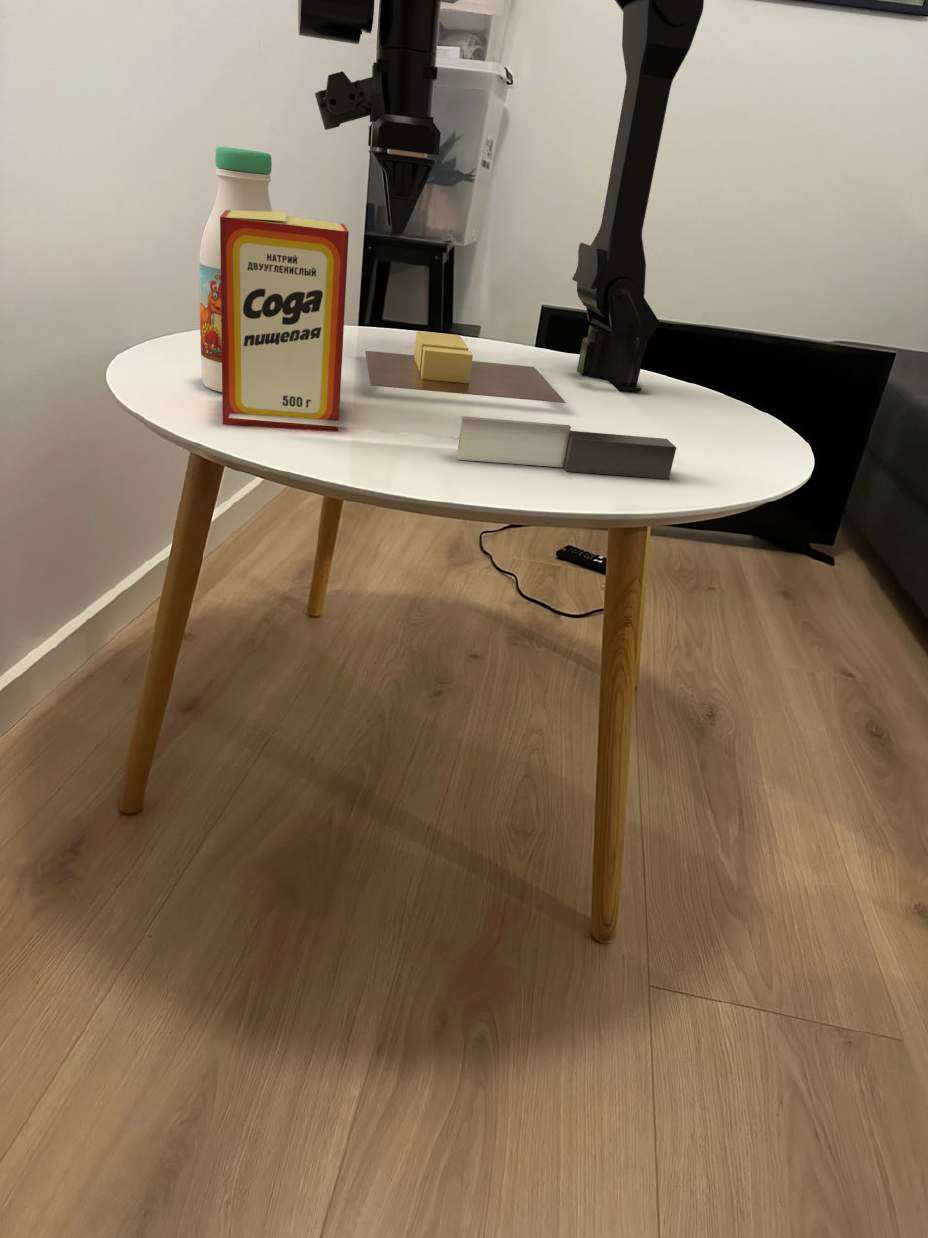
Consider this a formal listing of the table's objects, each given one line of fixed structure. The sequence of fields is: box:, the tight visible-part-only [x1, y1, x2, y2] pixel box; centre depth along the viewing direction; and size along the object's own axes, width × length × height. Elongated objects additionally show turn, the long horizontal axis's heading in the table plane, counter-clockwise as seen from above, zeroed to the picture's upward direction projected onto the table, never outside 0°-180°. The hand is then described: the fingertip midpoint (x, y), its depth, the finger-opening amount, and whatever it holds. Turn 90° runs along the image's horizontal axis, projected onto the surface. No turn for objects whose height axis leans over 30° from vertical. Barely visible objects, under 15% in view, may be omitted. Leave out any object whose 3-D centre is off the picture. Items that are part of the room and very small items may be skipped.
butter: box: [413, 330, 469, 372], centre depth 94 cm, size 5×7×3 cm
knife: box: [456, 415, 677, 480], centre depth 71 cm, size 18×2×4 cm, turn 98°
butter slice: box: [421, 347, 474, 384], centre depth 89 cm, size 5×2×3 cm, turn 98°
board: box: [365, 350, 567, 404], centre depth 93 cm, size 20×16×1 cm
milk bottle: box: [198, 146, 274, 393], centre depth 77 cm, size 8×8×20 cm
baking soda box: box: [220, 210, 350, 433], centre depth 71 cm, size 10×6×16 cm
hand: (394, 229), depth 89 cm, fingers open, 9 cm apart
